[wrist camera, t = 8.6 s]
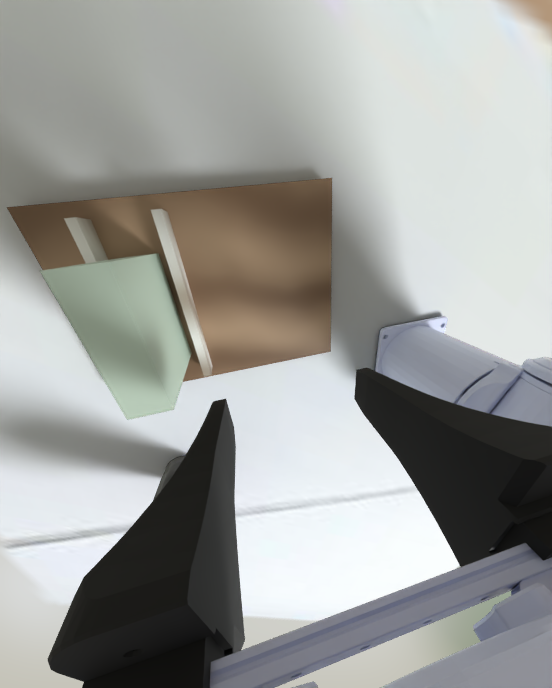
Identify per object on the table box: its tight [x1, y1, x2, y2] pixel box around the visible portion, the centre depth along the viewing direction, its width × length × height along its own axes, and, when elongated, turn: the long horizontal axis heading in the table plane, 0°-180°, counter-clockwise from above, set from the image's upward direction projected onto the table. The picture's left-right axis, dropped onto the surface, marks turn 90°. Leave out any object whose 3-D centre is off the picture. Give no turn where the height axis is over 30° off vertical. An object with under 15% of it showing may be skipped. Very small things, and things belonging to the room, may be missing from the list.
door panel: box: [40, 253, 192, 420], centre depth 13 cm, size 8×2×7 cm, turn 6°
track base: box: [7, 178, 332, 382], centre depth 17 cm, size 14×20×3 cm
